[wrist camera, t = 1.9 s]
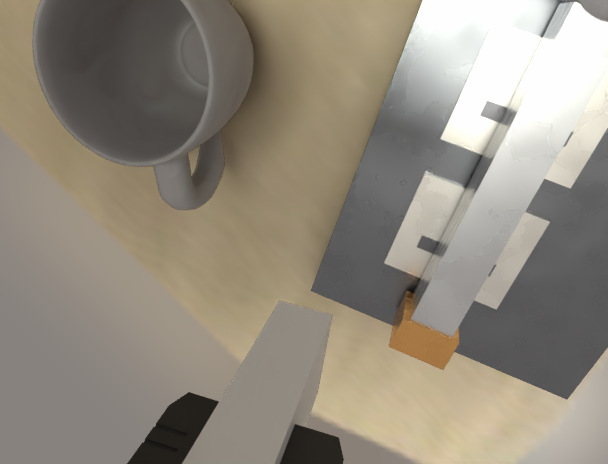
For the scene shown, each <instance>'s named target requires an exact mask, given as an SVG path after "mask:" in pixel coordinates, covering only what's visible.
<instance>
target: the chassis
mask: <svg viewBox="0 0 608 464" xmlns="http://www.w3.org/2000/svg"><path fill="white" fill-rule="evenodd" d="M561 3H563V2H562V0H423V1H422V4H421V6H420V9H419V11H418V14H417V17H416V19H415V22H414V24H413V27H412V30H411V32H410V35H409V37H408V40H407V42H406V45H405V48H404V50H403V53H402V55H401V58H400V61H399V63H398V66H397V68H396V71H395V74H394V76H393V79H392V81H391V84H390V87H389V89H388V92H387V94H386V97H385V100H384V102H383V105H382V107H381V110H380V113H379V115H378V118H377V120H376V123H375V125H374V128H373V131H372V133H371V136H370V138H369V141H368V144H367V146H366V149H365V151H364V154H363V157H362V159H361V162H360V164H359V167H358V170H357V172H356V175H355V177H354V180H353V183H352V185H351V188H350V190H349V193H348V195H347V198H346V201H345V203H344V206H343V208H342V211H341V214H340V216H339V219H338V221H337V224H336V227H335V229H334V232H333V234H332V237H331V240H330V242H329V245H328V247H327V250H326V253H325V255H324V258H323V260H322V263H321V266H320V268H319V271H318V273H317V276H316V278H315V281H314V284H313V286H312V289H311V291H313V292H315V293H317V294H320V295H322V296H324V297H327V298H329V299H332V300H334V301H336V302H339V303H341V304H343V305H346V306H348V307H350V308H353V309H355V310H357V311H360V312H362V313H365V314H367V315H369V316H372V317H374V318H376V319H379V320H381V321H383V322H386V323H388V324H390V325H393V322H394V316H395V314H396V312H397V310H398V308H399V306H400V304H401V302H402V300H403V298H404V296H405V294H406V292H407V291H409V292H412V293H414V291H415V289H416V287H417V285H418V283H419V281H420V279H421V277H422V275H423V273H424V271H425V269H426V267H427V265H428V263H429V261H430V259H431V257H432V255H433V253H434V251H435V249H436V247H437V246H438V244H439V242H440V240H441V238H442V236H443V234H444V232H445V230H446V228H447V226H448V224H449V222H450V220H451V218H452V216H453V214H454V212H455V210H456V208H457V206H458V204H459V202H460V200H461V198H462V196H463V194H464V192H465V190H466V188H467V186H468V184H469V182H470V180H471V178H472V176H473V174H474V172H475V170H476V168H477V166H478V164H479V162H480V160H481V158H482V156H483V154H484V152H485V150H486V148H487V146H488V145H489V143H490V141H491V139H492V137H493V135H494V133H495V131H496V129H497V127H498V125H499V123H500V121H501V119H502V117H503V115H504V113H505V111H506V109H507V107H508V105H509V103H510V101H511V99H512V97H513V95H514V93H515V91H516V89H517V87H518V85H519V83H520V81H521V79H522V77H523V75H524V73H525V71H526V69H527V67H528V65H529V63H530V61H531V59H532V57H533V55H534V53H535V51H536V49H537V47H538V45H539V43H540V42H541V40H542V38H543V36H544V34H545V32H546V30H547V28H548V26H549V24H550V22H551V20H552V18H553V16H554V14H555V12H556V10H557V8H558V6H559V4H561ZM607 348H608V70H607V71H606V73H605V75H604V77H603V78H602V80H601V82H600V83H599V85H598V87H597V89H596V90H595V92H594V94H593V96H592V97H591V99H590V101H589V102H588V104H587V106H586V108H585V109H584V111H583V113H582V115H581V116H580V118H579V120H578V121H577V123H576V125H575V127H574V128H573V130H572V132H571V134H570V135H569V137H568V139H567V140H566V142H565V144H564V146H563V147H562V149H561V151H560V153H559V154H558V156H557V158H556V159H555V161H554V163H553V165H552V166H551V168H550V170H549V172H548V173H547V175H546V177H545V178H544V180H543V182H542V184H541V185H540V187H539V189H538V190H537V192H536V194H535V196H534V197H533V199H532V201H531V203H530V204H529V206H528V208H527V209H526V211H525V213H524V215H523V216H522V218H521V220H520V222H519V223H518V225H517V227H516V228H515V230H514V232H513V234H512V235H511V237H510V239H509V241H508V242H507V244H506V246H505V247H504V249H503V251H502V253H501V254H500V256H499V258H498V260H497V261H496V263H495V265H494V266H493V268H492V270H491V272H490V273H489V275H488V277H487V279H486V280H485V282H484V284H483V285H482V287H481V289H480V291H479V292H478V294H477V296H476V298H475V299H474V301H473V303H472V304H471V306H470V308H469V310H468V311H467V313H466V315H465V317H464V318H463V320H462V322H461V323H460V325H459V344H458V346H457V348H456V349H455V351H454V352H456V353H459V354H461V355H463V356H466V357H468V358H471V359H473V360H475V361H478V362H480V363H482V364H485V365H487V366H489V367H492V368H494V369H496V370H499V371H501V372H503V373H506V374H508V375H511V376H513V377H515V378H518V379H520V380H522V381H525V382H527V383H529V384H532V385H534V386H536V387H539V388H541V389H544V390H546V391H548V392H551V393H553V394H555V395H558V396H560V397H562V398H565V399H568V398H569V396H570V395H571V394H572V393H573V391H574V390H575V389H576V387H577V386H578V385H579V384H580V382H581V381H582V380H583V378H584V377H585V376H586V375H587V373H588V372H589V371H590V369H591V368H592V367H593V366H594V364H595V363H596V362H597V360H598V359H599V358H600V357H601V355H602V354H603V353H604V351H605V350H606V349H607Z"/></svg>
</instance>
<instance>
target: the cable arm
mask: <svg viewBox="0 0 608 464" xmlns="http://www.w3.org/2000/svg"><path fill="white" fill-rule="evenodd" d="M562 2H563V3H561V4H559V6H558V8H557V10H556V12H555V14H554V16H553V18H552V20H551V22H550V24H549V26H548V28H547V30H546V32H545V34H544V36H543V38H542V40H541V42H540V43H539V45H538V47H537V49H536V51H535V53H534V55H533V57H532V59H531V61H530V63H529V65H528V67H527V69H526V71H525V73H524V75H523V77H522V79H521V81H520V83H519V85H518V87H517V89H516V91H515V93H514V95H513V97H512V99H511V101H510V103H509V105H508V107H507V109H506V111H505V113H504V115H503V117H502V119H501V121H500V123H499V125H498V127H497V129H496V131H495V133H494V135H493V137H492V139H491V141H490V143H489V145H488V146H487V148H486V150H485V152H484V154H483V156H482V158H481V160H480V162H479V164H478V166H477V168H476V170H475V172H474V174H473V176H472V178H471V180H470V182H469V184H468V186H467V188H466V190H465V192H464V194H463V196H462V198H461V200H460V202H459V204H458V206H457V208H456V210H455V212H454V214H453V216H452V218H451V220H450V222H449V224H448V226H447V228H446V230H445V232H444V234H443V236H442V238H441V240H440V242H439V244H438V246H437V247H436V249H435V251H434V253H433V255H432V257H431V259H430V261H429V263H428V265H427V267H426V269H425V271H424V273H423V275H422V277H421V279H420V281H419V283H418V285H417V287H416V289H415V291H414V293H412V292H409V291H407V292H406V294H405V296H404V298H403V300H402V302H401V304H400V306H399V308H398V310H397V312H396V314H395V316H394V322H393V327H392V333H391V339H390V344H389V347H391V348H393V349H396V350H398V351H400V352H403V353H405V354H407V355H410V356H412V357H414V358H417V359H419V360H421V361H424V362H426V363H428V364H431V365H433V366H435V367H438V368H440V369H442V370H444V368H445V366H446V365H447V363H448V361H449V360H450V358H451V356H452V354H453V353H454V351H455V349H456V348H457V346H458V344H459V325H460V323H461V322H462V320H463V318H464V317H465V315H466V313H467V311H468V310H469V308H470V306H471V304H472V303H473V301H474V299H475V298H476V296H477V294H478V292H479V291H480V289H481V287H482V285H483V284H484V282H485V280H486V279H487V277H488V275H489V273H490V272H491V270H492V268H493V266H494V265H495V263H496V261H497V260H498V258H499V256H500V254H501V253H502V251H503V249H504V247H505V246H506V244H507V242H508V241H509V239H510V237H511V235H512V234H513V232H514V230H515V228H516V227H517V225H518V223H519V222H520V220H521V218H522V216H523V215H524V213H525V211H526V209H527V208H528V206H529V204H530V203H531V201H532V199H533V197H534V196H535V194H536V192H537V190H538V189H539V187H540V185H541V184H542V182H543V180H544V178H545V177H546V175H547V173H548V172H549V170H550V168H551V166H552V165H553V163H554V161H555V159H556V158H557V156H558V154H559V153H560V151H561V149H562V147H563V146H564V144H565V142H566V140H567V139H568V137H569V135H570V134H571V132H572V130H573V128H574V127H575V125H576V123H577V121H578V120H579V118H580V116H581V115H582V113H583V111H584V109H585V108H586V106H587V104H588V102H589V101H590V99H591V97H592V96H593V94H594V92H595V90H596V89H597V87H598V85H599V83H600V82H601V80H602V78H603V77H604V75H605V73H606V71H607V70H608V0H562Z"/></svg>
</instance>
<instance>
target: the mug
mask: <svg viewBox="0 0 608 464" xmlns="http://www.w3.org/2000/svg"><path fill="white" fill-rule="evenodd" d="M32 44H33V57H34V64H35V69H36V73H37V76H38V80H39V83H40V86H41V89H42V91H43V93H44V96H45V98H46V100H47V102H48V104H49V106H50V107H51V109H52V111H53V112H54V114H55V116H56V117H57V118H58V120H59V121H60V122H61V124H62V125H63V126H64V127H65V129H66V130H67V131H68V132H69V133H70V134H71V135H72V136H73V137H74V138H75V139H76V140H77V141H79V142H80V143H81V144H82V145H84V146H85V147H86V148H88V149H89V150H91V151H92V152H94V153H96V154H97V155H99V156H101V157H103V158H105V159H107V160H110V161H112V162H115V163H118V164H122V165H127V166H135V167H147V166H153V167H154V171H155V176H156V180H157V185H158V189H159V193H160V195H161V197H162V199H163V200H164V201H165V202H166V203H167V204H168V205H170V206H171V207H172V208H174V209H177V210H192V209H196V208H199V207H200V206H202V205H203V204H205V203H206V202H207V201H208V200H209V199H210V198H211V197H212V195H213V193H214V192H215V190H216V188H217V186H218V184H219V181H220V179H221V177H222V174H223V170H224V165H225V157H224V149H223V140H222V131H221V128H222V127H223V126H224V125H225V124H226V123H227V122H228V121H229V120H230V119H231V118H232V117H233V115H234V114H235V113H236V111H237V110H238V109H239V107H240V105H241V104H242V102H243V100H244V98H245V96H246V94H247V92H248V89H249V86H250V83H251V79H252V74H253V64H254V50H253V45H252V41H251V38H250V35H249V33H248V31H247V28H246V26H245V24H244V22H243V20H242V19H241V17H240V16H239V14H238V13H237V11H236V10H235V9H234V7H233V6H232V5H231V4H230V3H229V2H228V1H227V0H41V1H40V3H39V6H38V9H37V12H36V16H35V20H34V26H33V40H32ZM199 145H200V151H199V156H198V161H197V165H196V168H195V171H194V173H193V175H192V176H191V169H190V163H189V157H188V152H189V151H191V150H193V149H194V148H196V147H198V146H199Z"/></svg>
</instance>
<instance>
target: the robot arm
mask: <svg viewBox="0 0 608 464" xmlns="http://www.w3.org/2000/svg"><path fill="white" fill-rule="evenodd" d="M331 320H332V315H331V314H328V313H324V312H320V311H316V310H313V309H309V308H305V307H302V306H298V305H294V304H290V303H287V302H283V301H279V302H278V304H277V306H276V307H275V309H274V311H273V312H272V314H271V316H270V317H269V319H268V321H267V322H266V324H265V326H264V328H263V329H262V331H261V333H260V334H259V336H258V338H257V339H256V341H255V343H254V344H253V346H252V348H251V349H250V351H249V353H248V354H247V356H246V358H245V359H244V361H243V363H242V364H241V366H240V368H239V369H238V371H237V373H236V375H235V376H234V378H233V379H232V381H231V383H230V385H229V386H228V388H227V390H226V391H225V393H224V395H223V396H222V398H221V400H220V401H219V402H218V401H215V400H212V399H209V398H205V397H202V396H199V395H196V394H193V393H190V392H189V393H187V394H186V395H184V396H183V397H181V398H180V399H178V400H177V401H175V402H174V403H172V404H171V405H169V406H168V408H167V409H166V411H165V412H164V414H163V415H162V416H161V418H160V419H159V420H158V422H157V423H156V426H155V427H153V429H152V430H151V432H150V433H149V434H148V436H147V437H146V439H145V441H144V443H142V444H141V445H140V447H139V448H138V450H137V451H136V452H135V454H134V455H133V456H132V458H131V459H130V461H129V462H128V463H127V464H343V460H344V459H343V455H342V450H341V446H340V441H339V438H338V437H335V436H332V435H329V434H325V433H322V432H319V431H316V430H313V429H309V428H306V424H307V421H308V418H309V416H310V413H311V410H312V407H313V404H314V401H315V398H316V395H317V393H318V388H319V383H320V378H321V372H322V367H323V362H324V357H325V352H326V346H327V341H328V336H329V331H330V326H331Z"/></svg>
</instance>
